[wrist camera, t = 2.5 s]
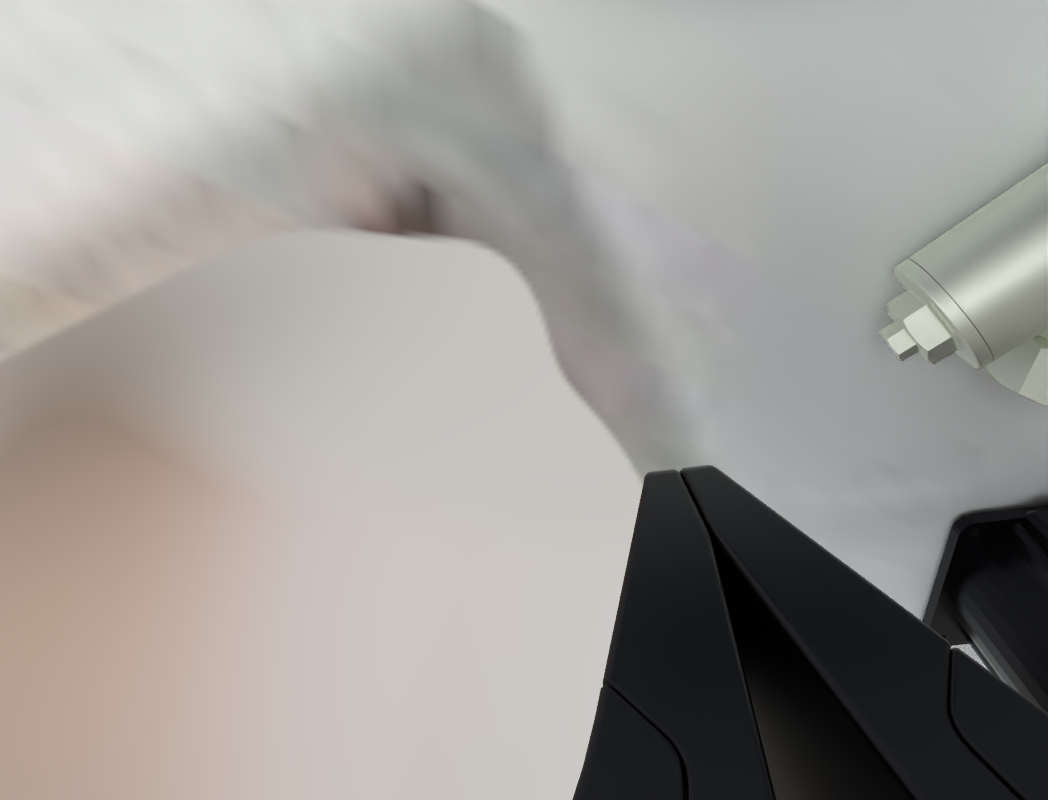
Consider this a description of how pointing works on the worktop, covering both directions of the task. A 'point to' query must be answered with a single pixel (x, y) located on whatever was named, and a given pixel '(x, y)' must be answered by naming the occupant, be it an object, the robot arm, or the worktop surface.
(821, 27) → the worktop surface
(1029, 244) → the pipe fitting
